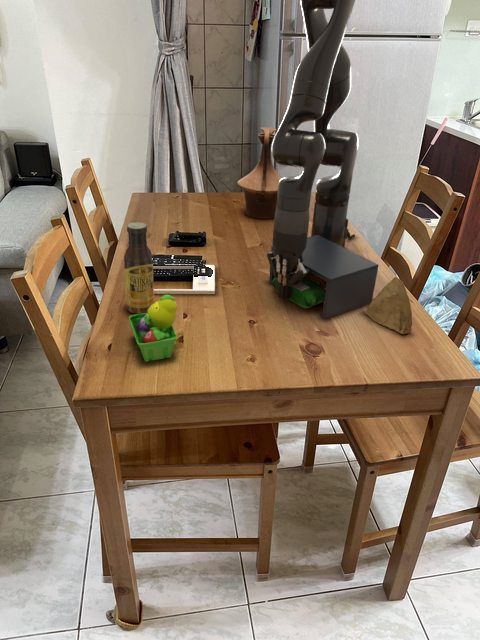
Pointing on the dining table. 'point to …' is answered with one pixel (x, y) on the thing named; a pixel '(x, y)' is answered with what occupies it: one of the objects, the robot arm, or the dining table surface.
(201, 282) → the photo frame
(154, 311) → the fruit basket
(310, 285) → the snack package
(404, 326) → the rock
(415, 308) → the dining table surface
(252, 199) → the brown cone topped pot
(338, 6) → the robot arm
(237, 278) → the dining table surface
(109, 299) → the dining table surface
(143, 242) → the sauce bottle
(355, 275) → the open shelf stand
